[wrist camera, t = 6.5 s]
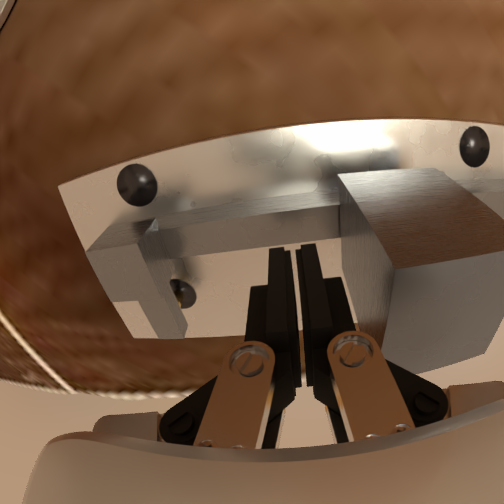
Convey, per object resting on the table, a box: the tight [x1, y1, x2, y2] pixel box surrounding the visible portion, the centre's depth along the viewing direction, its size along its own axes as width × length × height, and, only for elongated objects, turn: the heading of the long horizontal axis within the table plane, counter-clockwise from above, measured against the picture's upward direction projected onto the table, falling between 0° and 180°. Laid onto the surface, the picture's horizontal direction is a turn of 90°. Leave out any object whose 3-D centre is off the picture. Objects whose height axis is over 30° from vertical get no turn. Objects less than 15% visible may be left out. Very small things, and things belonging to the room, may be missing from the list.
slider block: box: [338, 168, 504, 374], centre depth 12 cm, size 8×5×9 cm, turn 10°
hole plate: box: [58, 117, 504, 338], centre depth 17 cm, size 14×34×1 cm, turn 100°
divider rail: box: [85, 179, 504, 339], centre depth 14 cm, size 8×32×4 cm, turn 100°
